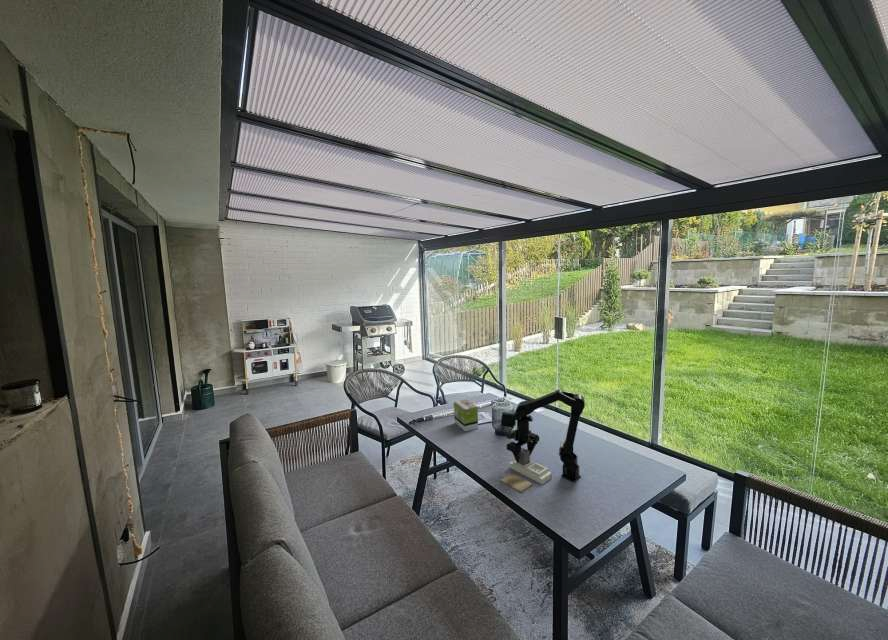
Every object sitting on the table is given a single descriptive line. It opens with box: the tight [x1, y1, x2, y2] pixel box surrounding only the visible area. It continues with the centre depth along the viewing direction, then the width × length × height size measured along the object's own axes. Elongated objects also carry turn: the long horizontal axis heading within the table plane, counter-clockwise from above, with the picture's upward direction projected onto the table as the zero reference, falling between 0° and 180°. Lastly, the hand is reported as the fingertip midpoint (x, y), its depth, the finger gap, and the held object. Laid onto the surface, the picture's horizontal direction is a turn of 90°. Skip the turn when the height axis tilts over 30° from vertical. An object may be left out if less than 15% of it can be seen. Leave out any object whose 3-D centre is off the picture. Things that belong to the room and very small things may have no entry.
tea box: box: [453, 399, 479, 432], centre depth 218 cm, size 15×10×15 cm
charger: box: [519, 447, 531, 465], centre depth 166 cm, size 4×4×7 cm
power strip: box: [509, 457, 553, 485], centre depth 164 cm, size 19×8×4 cm, turn 39°
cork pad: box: [500, 472, 534, 494], centre depth 156 cm, size 12×8×1 cm, turn 39°
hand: (523, 458), depth 166 cm, fingers open, 9 cm apart
